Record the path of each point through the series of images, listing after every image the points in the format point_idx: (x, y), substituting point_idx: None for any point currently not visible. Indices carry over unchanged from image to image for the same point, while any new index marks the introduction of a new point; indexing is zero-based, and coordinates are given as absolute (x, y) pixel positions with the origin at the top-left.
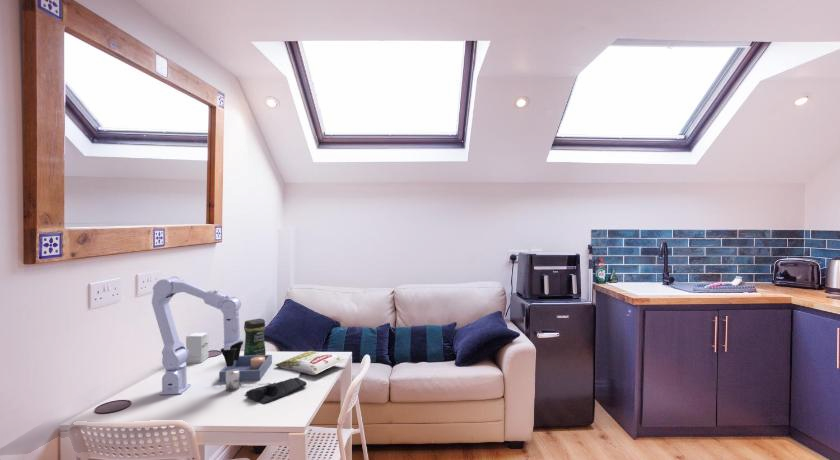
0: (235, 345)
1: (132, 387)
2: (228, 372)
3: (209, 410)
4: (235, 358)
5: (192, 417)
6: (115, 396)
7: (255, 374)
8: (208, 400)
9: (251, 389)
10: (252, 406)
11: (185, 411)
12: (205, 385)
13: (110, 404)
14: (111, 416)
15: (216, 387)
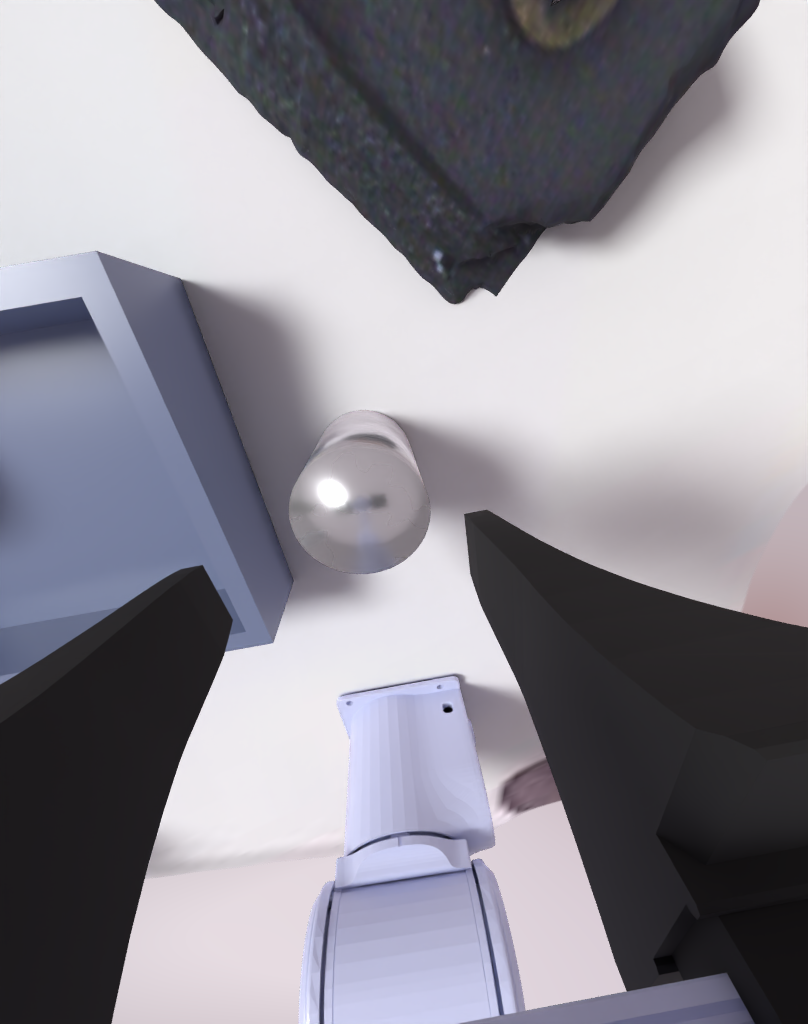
0: (3, 916)
1: None
2: (399, 538)
3: (723, 427)
4: (206, 611)
5: (791, 472)
6: None
7: (156, 321)
8: (558, 511)
9: (466, 230)
10: (773, 71)
11: (690, 546)
12: (324, 638)
13: (540, 798)
14: None
15: None
